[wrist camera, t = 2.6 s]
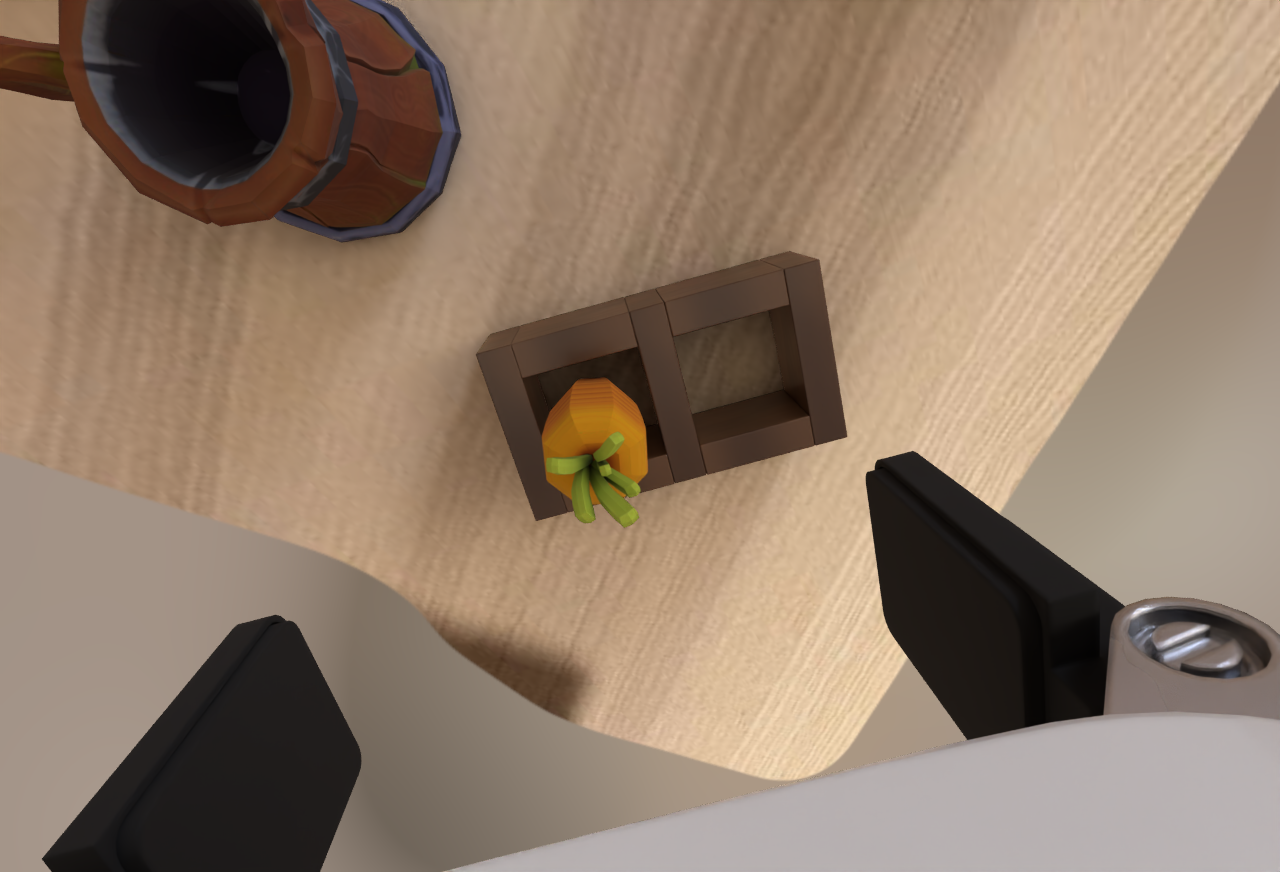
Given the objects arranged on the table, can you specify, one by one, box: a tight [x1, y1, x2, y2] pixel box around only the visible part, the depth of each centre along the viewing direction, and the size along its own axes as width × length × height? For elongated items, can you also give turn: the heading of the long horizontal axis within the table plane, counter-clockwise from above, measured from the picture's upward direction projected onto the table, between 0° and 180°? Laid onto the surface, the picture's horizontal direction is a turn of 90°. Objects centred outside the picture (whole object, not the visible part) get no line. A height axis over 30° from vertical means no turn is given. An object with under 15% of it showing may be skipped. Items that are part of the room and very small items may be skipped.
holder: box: [476, 251, 847, 521], centre depth 36 cm, size 17×10×5 cm, turn 105°
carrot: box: [542, 377, 648, 528], centre depth 31 cm, size 5×5×15 cm
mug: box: [0, 0, 461, 242], centre depth 25 cm, size 18×12×15 cm, turn 84°
